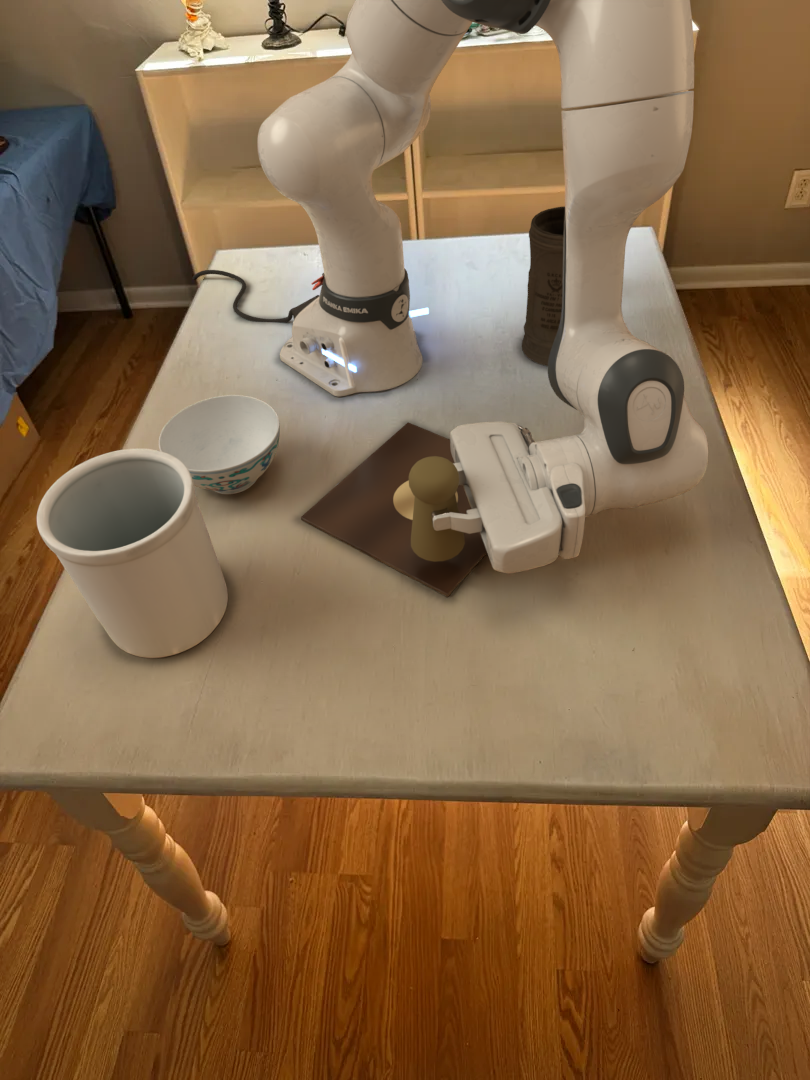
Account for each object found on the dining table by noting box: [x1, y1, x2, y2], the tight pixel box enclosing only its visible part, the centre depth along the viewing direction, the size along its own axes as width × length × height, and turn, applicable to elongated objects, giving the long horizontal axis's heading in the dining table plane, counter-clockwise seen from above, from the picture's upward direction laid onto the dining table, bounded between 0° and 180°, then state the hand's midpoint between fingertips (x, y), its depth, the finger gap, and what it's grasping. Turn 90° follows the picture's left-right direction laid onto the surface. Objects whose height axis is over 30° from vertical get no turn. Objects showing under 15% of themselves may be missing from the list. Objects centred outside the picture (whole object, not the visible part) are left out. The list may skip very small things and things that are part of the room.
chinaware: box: [158, 394, 281, 495], centre depth 100 cm, size 15×15×8 cm
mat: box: [300, 422, 488, 598], centre depth 97 cm, size 22×22×1 cm
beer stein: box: [521, 205, 565, 367], centre depth 113 cm, size 15×11×20 cm
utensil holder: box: [36, 447, 229, 659], centre depth 82 cm, size 15×15×18 cm
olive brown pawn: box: [409, 456, 465, 562], centre depth 83 cm, size 6×6×11 cm
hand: (427, 504), depth 83 cm, fingers closed on olive brown pawn, 4 cm apart
